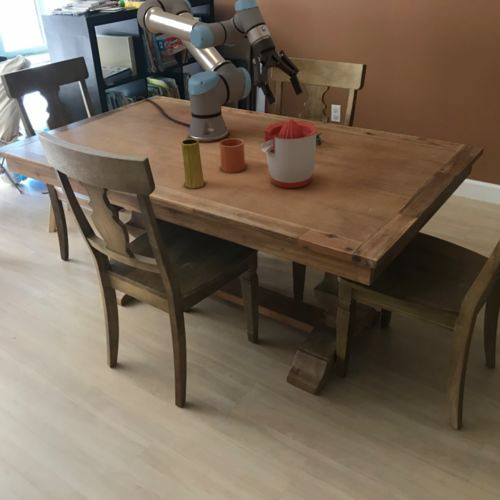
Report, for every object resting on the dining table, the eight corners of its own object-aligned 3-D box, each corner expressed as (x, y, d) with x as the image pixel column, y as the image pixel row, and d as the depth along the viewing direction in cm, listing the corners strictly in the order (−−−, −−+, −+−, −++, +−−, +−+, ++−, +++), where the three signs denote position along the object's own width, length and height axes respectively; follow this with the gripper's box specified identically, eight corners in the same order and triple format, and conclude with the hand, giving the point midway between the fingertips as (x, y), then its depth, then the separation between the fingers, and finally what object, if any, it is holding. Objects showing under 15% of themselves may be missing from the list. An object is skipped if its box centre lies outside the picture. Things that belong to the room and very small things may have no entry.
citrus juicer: (253, 178, 166) (250, 117, 155) (301, 167, 171) (301, 108, 160) (274, 197, 153) (273, 132, 143) (325, 185, 159) (327, 121, 148)
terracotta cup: (216, 169, 173) (214, 143, 169) (232, 161, 178) (231, 136, 174) (234, 174, 169) (232, 148, 164) (250, 166, 174) (248, 141, 169)
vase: (182, 188, 162) (177, 144, 154) (188, 180, 167) (183, 137, 159) (201, 188, 161) (197, 145, 153) (206, 180, 166) (202, 138, 158)
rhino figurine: (318, 150, 184) (319, 134, 181) (293, 140, 193) (293, 125, 190) (327, 147, 186) (327, 131, 183) (301, 138, 195) (301, 122, 192)
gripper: (240, 43, 171) (266, 102, 173) (292, 30, 184) (316, 85, 186) (229, 53, 177) (255, 111, 179) (280, 40, 190) (303, 94, 192)
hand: (286, 98), depth 182 cm, fingers open, 13 cm apart
